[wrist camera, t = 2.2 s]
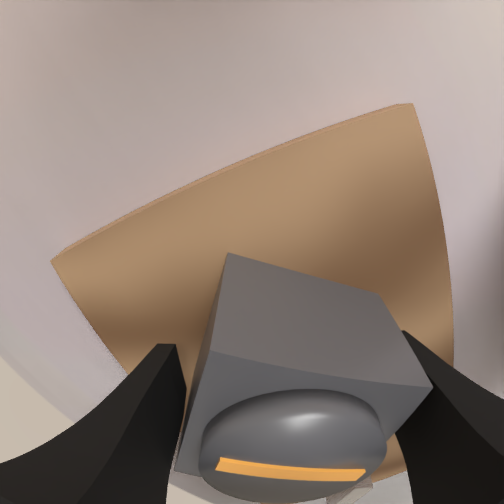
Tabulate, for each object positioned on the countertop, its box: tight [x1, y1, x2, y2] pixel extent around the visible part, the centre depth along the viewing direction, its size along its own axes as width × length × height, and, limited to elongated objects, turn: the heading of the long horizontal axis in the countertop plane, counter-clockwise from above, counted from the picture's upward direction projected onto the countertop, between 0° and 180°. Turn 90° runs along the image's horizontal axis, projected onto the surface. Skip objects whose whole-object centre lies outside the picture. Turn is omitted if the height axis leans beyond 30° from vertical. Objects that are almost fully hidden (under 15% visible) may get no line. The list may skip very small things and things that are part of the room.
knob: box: [174, 252, 433, 503], centre depth 8 cm, size 5×5×5 cm
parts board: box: [50, 103, 454, 504], centre depth 13 cm, size 21×13×1 cm, turn 23°
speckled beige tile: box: [326, 476, 373, 504], centre depth 13 cm, size 1×3×3 cm, turn 163°
